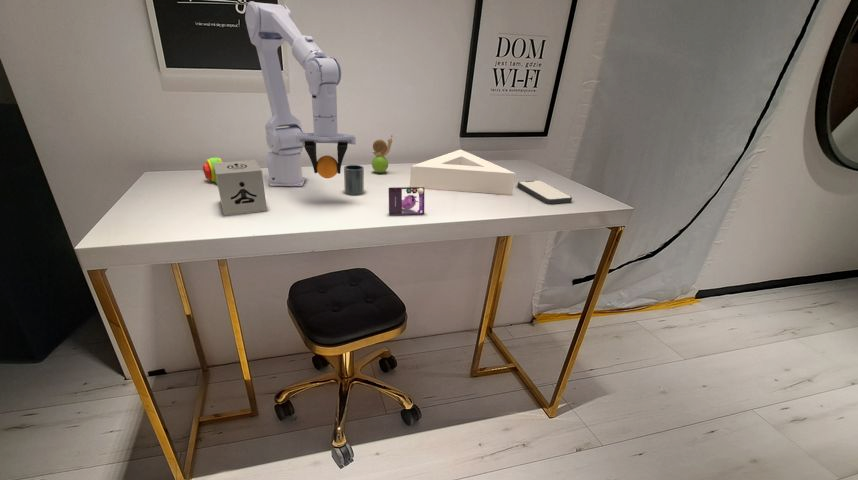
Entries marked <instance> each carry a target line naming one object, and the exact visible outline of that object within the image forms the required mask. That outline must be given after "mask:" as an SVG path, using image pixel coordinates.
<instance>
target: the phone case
mask: <svg viewBox="0 0 858 480" xmlns="http://www.w3.org/2000/svg"><path fill="white" fill-rule="evenodd" d="M516 186H517V187H518V188H519V189H521V190H522V191H524V192H526V193H528V194H529V195H531V196H532V197H534V198H535V199H538V200H540V201H541V202H543V203H544V204H546V205H547V204H548V205H556V204H566V203H571V202H572V200H573V197H572V196H571V195H569V194H567V193H565V192H563V191H561V190H559V189H557V188H555V187H554V186H552V185H550V184H548V183H547V182H544V181H543V180H538V179H537V180H523V181H518V182H517V185H516Z"/></svg>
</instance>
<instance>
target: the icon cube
mask: <svg viewBox="0 0 858 480" xmlns="http://www.w3.org/2000/svg"><path fill="white" fill-rule="evenodd" d="M213 164H214V169H215V174H216V179H217V184H218V185H217V184H216V185H217V190H218V194H219V200H220V204H221V208H222V213H223V216H224V217H226V216H235V215H242V214H251V213H259V212H261V213H262V212H267V211H268V206H267V199H266V191H265V184H264V177H263V170H262V168H261V167H260V165H259V163H258V162H257V160H256V159H250V160H249V159H248V160H236V161H233V160H232V161H222V162H218V163H213Z"/></svg>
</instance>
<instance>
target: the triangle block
mask: <svg viewBox="0 0 858 480" xmlns="http://www.w3.org/2000/svg"><path fill="white" fill-rule="evenodd" d="M516 176H517V173H516V172H514V171H512V170H509V169H507V168H504V167H502V166H500V165H497V164H495V163H493V162H490V161H489V160H486V159H483V158H482V157H479V156H478V155H475V154H473V153H470V152H468V151H465V150H463V149H457V150H454V151H451V152H449V153H445V154H443V155H440V156H437V157H434V158H431V159H428V160H425V161H422V162H419V163H416V164H413V165H410V177H409V179H410V180H409V187H424V189H428V190H440V191H441V190H442V191H452V192H464V193H465V192H466V193H480V194H492V195H505V196H512V195H513V191H514V185H515V181H516Z"/></svg>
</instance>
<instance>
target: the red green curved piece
mask: <svg viewBox="0 0 858 480" xmlns="http://www.w3.org/2000/svg"><path fill="white" fill-rule="evenodd" d="M218 162H223V160H222V159H221V158H220V157H209V158H208V159H206V160H205V163H204V164H202V171H203V174H204V176H205V178H206V179H208V180H210V181H211V182H212V183H213V182H214V183H215V184H216V185H217V186H218V184H217V179H216V174H215V169H214V164H213V163H218Z"/></svg>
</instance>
